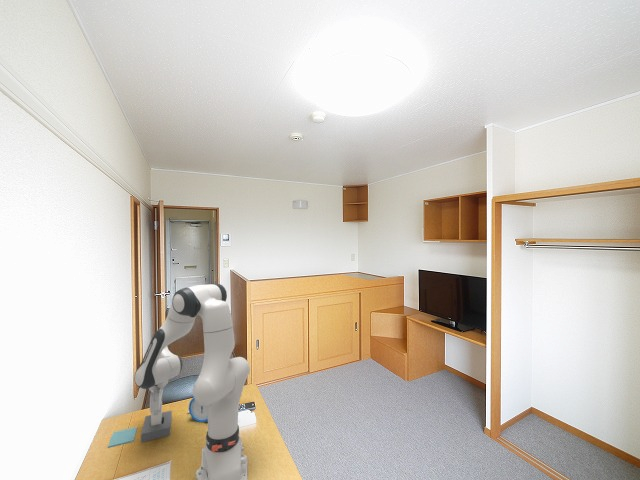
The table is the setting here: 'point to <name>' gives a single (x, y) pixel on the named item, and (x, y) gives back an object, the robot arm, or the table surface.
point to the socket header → (156, 427)
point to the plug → (157, 417)
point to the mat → (122, 437)
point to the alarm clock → (198, 411)
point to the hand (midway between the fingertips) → (156, 411)
